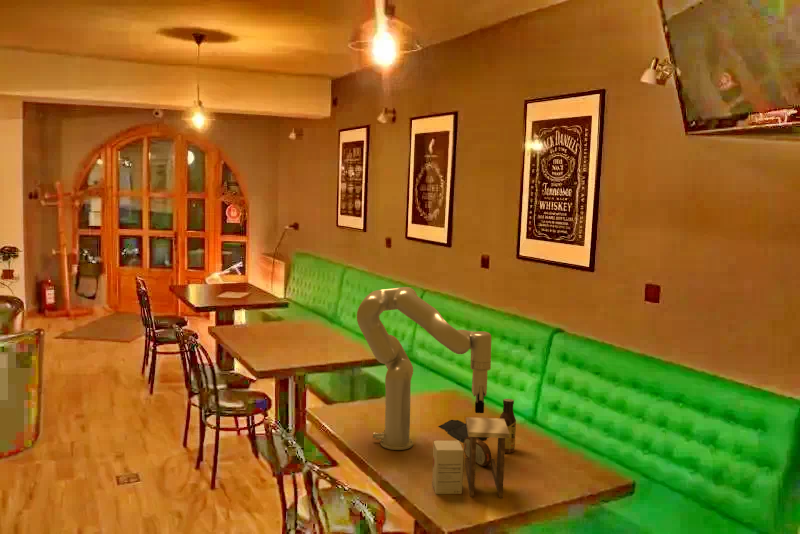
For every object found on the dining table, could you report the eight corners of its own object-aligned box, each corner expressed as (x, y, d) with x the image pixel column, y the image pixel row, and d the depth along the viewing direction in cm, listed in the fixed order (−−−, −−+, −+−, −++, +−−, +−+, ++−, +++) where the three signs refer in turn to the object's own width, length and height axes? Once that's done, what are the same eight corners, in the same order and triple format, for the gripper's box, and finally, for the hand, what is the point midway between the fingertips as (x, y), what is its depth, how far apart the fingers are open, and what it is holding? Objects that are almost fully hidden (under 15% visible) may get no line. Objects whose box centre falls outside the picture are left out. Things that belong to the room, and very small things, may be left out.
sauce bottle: (514, 454, 259) (516, 403, 257) (497, 453, 260) (499, 401, 258) (514, 448, 266) (517, 398, 263) (498, 446, 267) (500, 397, 265)
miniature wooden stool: (466, 496, 222) (468, 432, 220) (461, 464, 249) (463, 406, 246) (506, 498, 221) (509, 433, 219) (497, 465, 248) (500, 407, 246)
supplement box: (431, 482, 232) (432, 439, 230) (457, 482, 232) (459, 439, 231) (435, 494, 223) (436, 449, 221) (462, 494, 223) (464, 449, 222)
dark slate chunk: (461, 424, 294) (462, 413, 293) (494, 440, 275) (495, 429, 275) (432, 429, 285) (432, 418, 285) (464, 447, 267) (465, 435, 266)
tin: (491, 468, 246) (492, 445, 245) (484, 469, 244) (485, 447, 243) (468, 454, 259) (469, 432, 258) (461, 455, 257) (462, 433, 256)
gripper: (469, 359, 265) (468, 406, 267) (472, 369, 250) (470, 418, 252) (488, 360, 265) (487, 406, 266) (492, 370, 250) (491, 419, 252)
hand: (479, 412), depth 259 cm, fingers closed
